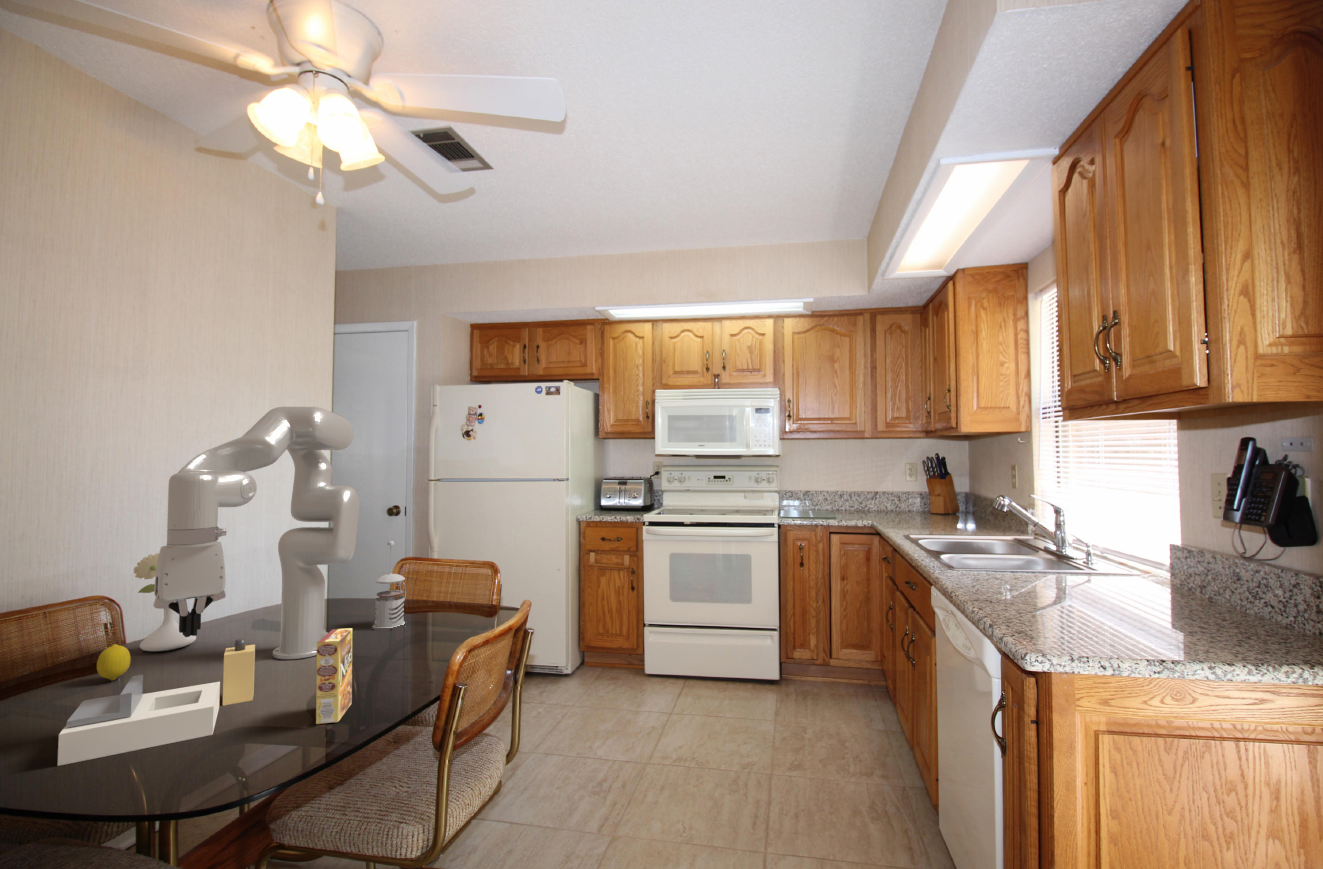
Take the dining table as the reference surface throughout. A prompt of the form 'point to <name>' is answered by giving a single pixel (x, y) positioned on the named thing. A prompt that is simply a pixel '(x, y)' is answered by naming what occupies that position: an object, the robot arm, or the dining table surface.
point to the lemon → (113, 662)
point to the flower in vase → (169, 630)
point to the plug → (238, 673)
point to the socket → (145, 724)
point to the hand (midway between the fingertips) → (189, 634)
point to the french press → (389, 601)
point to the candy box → (334, 675)
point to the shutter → (109, 705)
